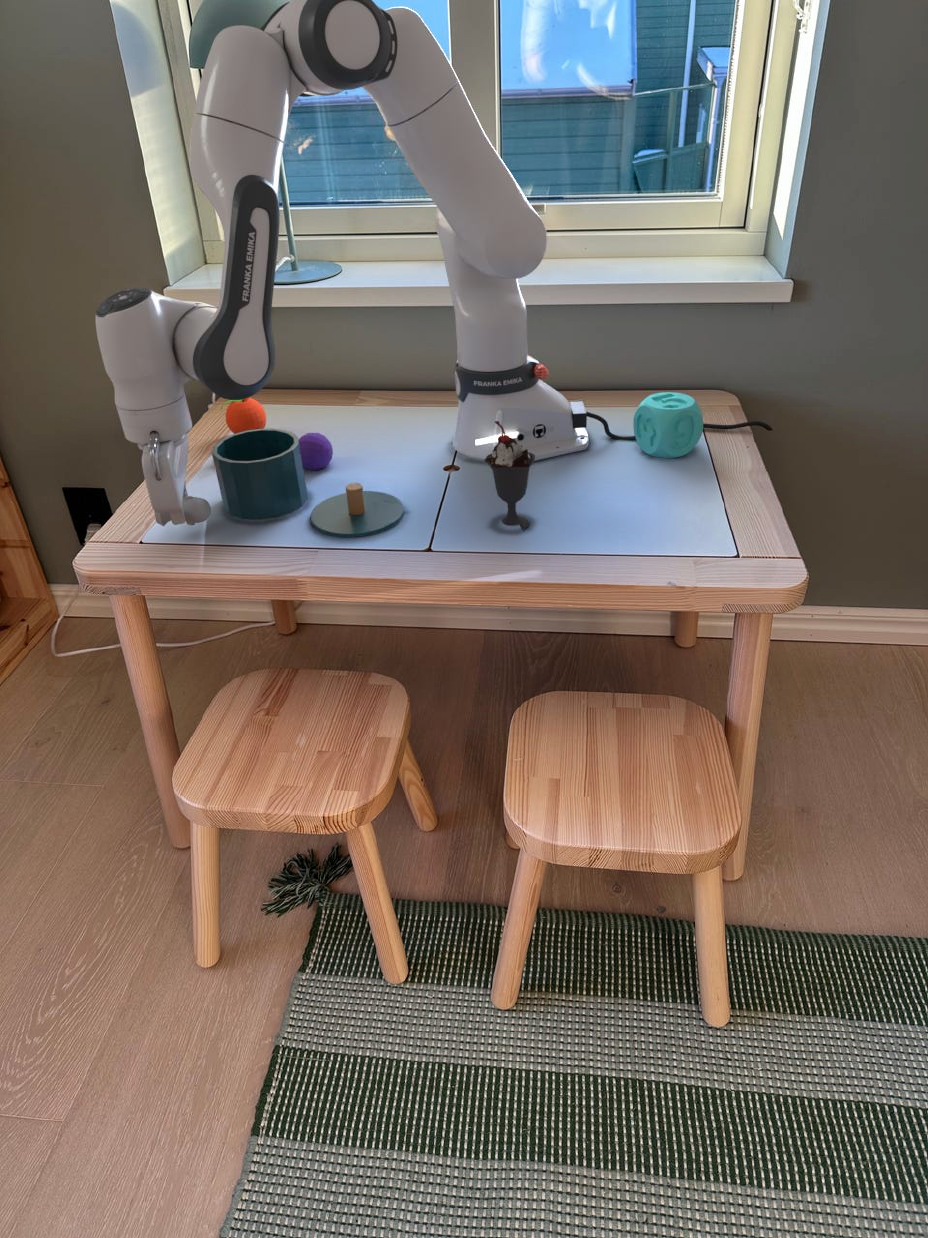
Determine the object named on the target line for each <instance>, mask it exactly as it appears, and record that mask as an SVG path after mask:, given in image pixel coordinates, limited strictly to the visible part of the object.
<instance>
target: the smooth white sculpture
mask: <svg viewBox="0 0 928 1238" xmlns="http://www.w3.org/2000/svg"><path fill="white" fill-rule="evenodd" d="M182 507H184V511H185V515H186V520H185V523H186V525H188V526H195V525H196V524H200V523H204V522H206V521H207V520H208V519H209V518H210V517H211V513H212V508H211V505H210V502H209V501H208V500H207V499H205V498H202V497H197V496H191V495H188V496H187V497H184V498H183V500H182ZM153 512H154V513H153V514H154V518H155V522H156V523H157V524H159V525H160V526H162V527H165V526H166V525H167V524H168V523H169V522H172V520H171V517H170V514H169V512H164V513H156V512H155V511H154V510H153Z"/></svg>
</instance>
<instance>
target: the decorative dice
mask: <svg viewBox="0 0 928 1238" xmlns="http://www.w3.org/2000/svg"><path fill="white" fill-rule="evenodd" d="M700 407H701V406H700V405H699V403H698V402H697V400H696V399H694V397H692V396H691V395H688V394H686V393H681V392H676V391H666V392H665V391H662V392H656V393H653V394H650V395H648V396H646V397H645V398H644V399H643V400H642V401H641V402H640V404H639V405H638V407H637V408H636V410H635V412H634V415H633V427H632V428H633V433H634V436H635V438H636V440H635V441H636V443H637V445H638V446H639V448H640V449H641V450H642V451H643V452H644V453H645V454H647V455H648V456H652V457H655V458H660V459H674V458H680V457H683V456H686V455H687V454H689V453H690V452H691V451H692V450H694V448H695V447H696V446H697V444H698V443H699V441H700V439H701V438H702V435H703V431H704V428H703V423H704V418H703V412H702V409H701V408H700Z"/></svg>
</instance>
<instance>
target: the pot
mask: <svg viewBox="0 0 928 1238" xmlns="http://www.w3.org/2000/svg"><path fill="white" fill-rule="evenodd" d="M211 451H212V452H211V456H212V459H213V464H214V469H215V474H216V478H217V482H218V486H219V493H220V496H221V501H222V505H223V510H224V511H225V512H226V513H227V514H228V515H229V516H231V517H233V518H237V519H241V520H248V521H249V520H251V521H261V520H262V521H263V520H269V519H275V518H279V517H283V516H286V515H288V514H291V513H294V511H296V510H298V509H299V508H301V507H303V506H304V504H305V503H306V502H307V500H308V489H307V484H306V478H305V471H304V467H303V465H302V459H301V452H300V446H299V436H297V435H296V434H295V433H293V432H292V431H289V430H284V429H281V428H264V429H256V430H248V431H244V432H240V433H236V434H234V433H232V434H230V435H228V436H226V437H224V438H222V439H219V440H218V441H217V442H216V444H214V445H213V446H212V449H211Z"/></svg>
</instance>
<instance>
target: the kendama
mask: <svg viewBox="0 0 928 1238" xmlns="http://www.w3.org/2000/svg"><path fill="white" fill-rule="evenodd" d="M298 440H299V446H300V452H301V459H302V465H303V469H307V470H309V471H318V470H322V469H325V468H326V467H327V466H328V465H329V464H330V463H331V461H332V459H333V454H334V450H333V445H332V443H331V442H330V439H328V437H326V436H325V435H324V434H321V433H319V432H307V433H304V434H303V435H301V436H300V437H298Z"/></svg>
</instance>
